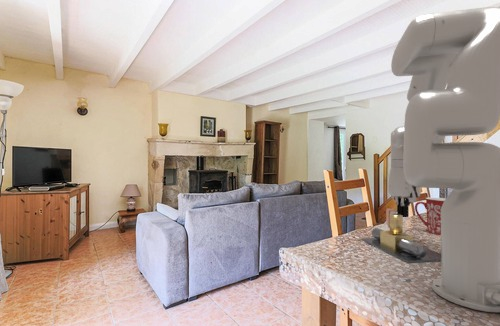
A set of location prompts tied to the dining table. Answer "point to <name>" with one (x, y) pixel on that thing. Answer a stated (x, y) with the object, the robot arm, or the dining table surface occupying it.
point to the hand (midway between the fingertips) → (402, 216)
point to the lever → (394, 221)
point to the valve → (401, 247)
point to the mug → (432, 214)
